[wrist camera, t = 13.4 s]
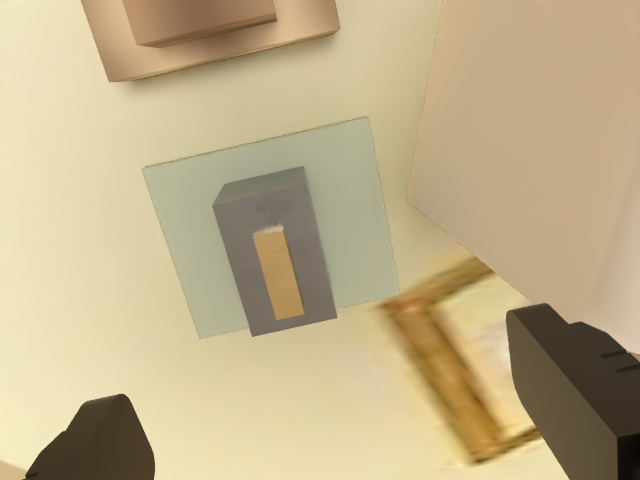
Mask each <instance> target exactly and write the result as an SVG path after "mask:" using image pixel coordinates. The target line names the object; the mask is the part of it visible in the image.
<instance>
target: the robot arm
mask: <svg viewBox="0 0 640 480" xmlns="http://www.w3.org/2000/svg"><path fill="white" fill-rule="evenodd" d="M506 324H507V333H508V342H509V351H510V361H511V370H512V377H513V381H514V385H515V389H516V391H517V394H518V397H519V399H520V401H521V403H522V405H523V407H524V408H525V410H526V411H527V413H528V415H529V416H530V418H531V419H532V421H533V423H534V424H535V426H536V427H537V429H538V430H539V432H540V434H541V435H542V437H543V438H544V440H545V441H546V443H547V445H548V446H549V448H550V449H551V451H552V452H553V454H554V456H555V457H556V459H557V460H558V462H559V463H560V465H561V467H562V468H563V470H564V471H565V473H566V474H567V476H568V478H569V479H570V480H640V362H639V361H638V360H637V359H636V358H635V357H633V356H632V355H631V354H630V353H627V352H626V349H625V348H624V347H622V346H621V345H620V344H619V343H618V342H617V341H616V340H615V339H614V338H612V337H611V336H610V335H609V334H608V333H606V332H604V331H602V330H600V329H597V328H595V327H593V326H591V325H588V324H586V323H584V322H582V321H580V322H575V323H571V324H568V323H567V322H566V321H565V320H564V319H563V318H562V317H561V316H560V315H559V314H558V313H557V312H556V311H555V310H554V309H553V308H552V307H551V306H550V305H549V304H547V303H542V304H537V305H532V306H528V307H523V308H518V309H514V310H509V311H508V312H507V314H506ZM154 474H155V461H154V454H153V451H152V448H151V446H150V444H149V441H148V439H147V437H146V435H145V432H144V430H143V428H142V426H141V423H140V421H139V419H138V417H137V414H136V412H135V410H134V408H133V405H132V403H131V401H130V400H129V398H128V397H127V396H126V395H124V394H118V395H113V396H109V397H104V398H99V399H95V400H90V401H87V402H85V403H84V404H83V405H82V406H81V407H80V409H79V410H78V412H77V414H76V415H75V417H74V418H73V420H72V421H71V423H70V425H69V426H68V428H67V429H66V431H62V432H61V433H60V434H59V435H58V436H57V437H56V438H55V439H54V440H53V441H52V442H51V443H50V444H49V445H48V446H47V447H46V448H45V449H43V450H42V451H41V452H40V454H39V455H38V457H37V458H36V460H35V461H34V463H33V464H32V466H31V467H30V469H29V470H28V472H27V473H26V475H25V476H26V479H23V480H154Z"/></svg>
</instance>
